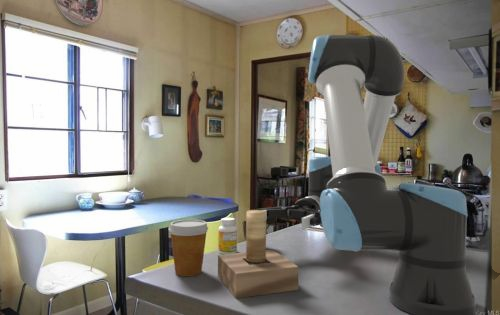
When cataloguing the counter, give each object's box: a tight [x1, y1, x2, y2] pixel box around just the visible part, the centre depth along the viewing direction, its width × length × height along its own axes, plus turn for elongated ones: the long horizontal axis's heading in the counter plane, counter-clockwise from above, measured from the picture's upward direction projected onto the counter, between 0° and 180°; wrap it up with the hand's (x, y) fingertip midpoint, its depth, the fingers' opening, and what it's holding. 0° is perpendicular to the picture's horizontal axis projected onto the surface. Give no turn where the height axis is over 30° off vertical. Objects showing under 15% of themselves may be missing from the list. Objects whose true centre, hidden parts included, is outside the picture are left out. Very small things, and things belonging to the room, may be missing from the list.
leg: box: [245, 209, 267, 265], centre depth 85 cm, size 5×5×16 cm
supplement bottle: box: [217, 217, 238, 255], centre depth 110 cm, size 5×5×10 cm
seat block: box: [217, 249, 300, 299], centre depth 85 cm, size 14×14×5 cm
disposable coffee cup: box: [168, 219, 209, 277], centre depth 92 cm, size 10×10×12 cm
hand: (277, 221), depth 94 cm, fingers open, 13 cm apart
